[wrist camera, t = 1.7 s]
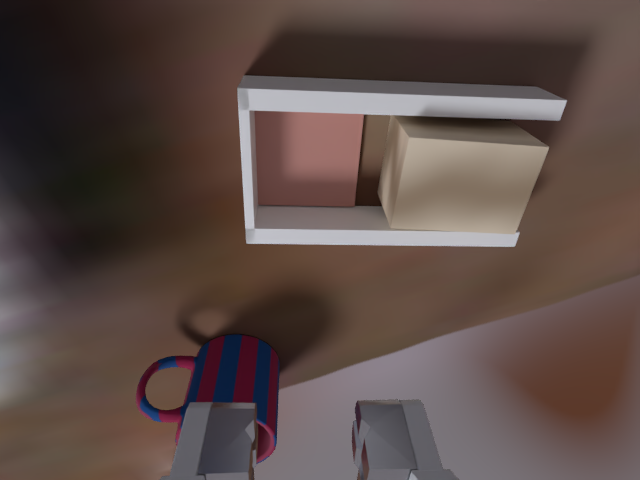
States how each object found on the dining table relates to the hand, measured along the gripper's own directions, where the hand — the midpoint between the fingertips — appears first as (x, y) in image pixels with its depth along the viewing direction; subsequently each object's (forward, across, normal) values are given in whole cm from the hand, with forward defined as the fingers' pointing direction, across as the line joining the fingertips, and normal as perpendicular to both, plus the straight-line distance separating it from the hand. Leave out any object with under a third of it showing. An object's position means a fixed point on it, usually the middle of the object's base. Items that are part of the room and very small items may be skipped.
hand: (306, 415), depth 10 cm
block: (+17, -8, 0) cm, 19 cm away
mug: (+17, +6, +17) cm, 25 cm away
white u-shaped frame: (+17, -5, 0) cm, 18 cm away
